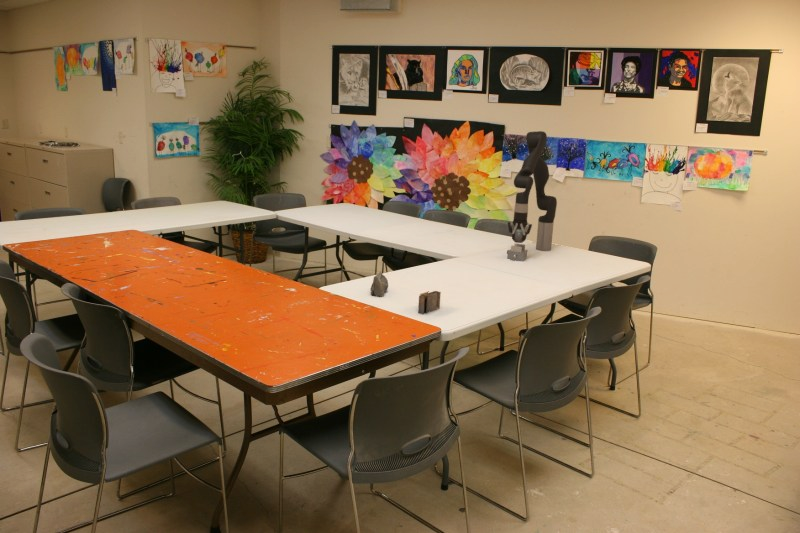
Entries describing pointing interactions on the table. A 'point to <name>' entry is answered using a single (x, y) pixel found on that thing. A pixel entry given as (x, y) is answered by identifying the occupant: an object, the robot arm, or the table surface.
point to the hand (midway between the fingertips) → (518, 240)
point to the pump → (518, 236)
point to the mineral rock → (379, 285)
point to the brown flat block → (429, 302)
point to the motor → (517, 252)
